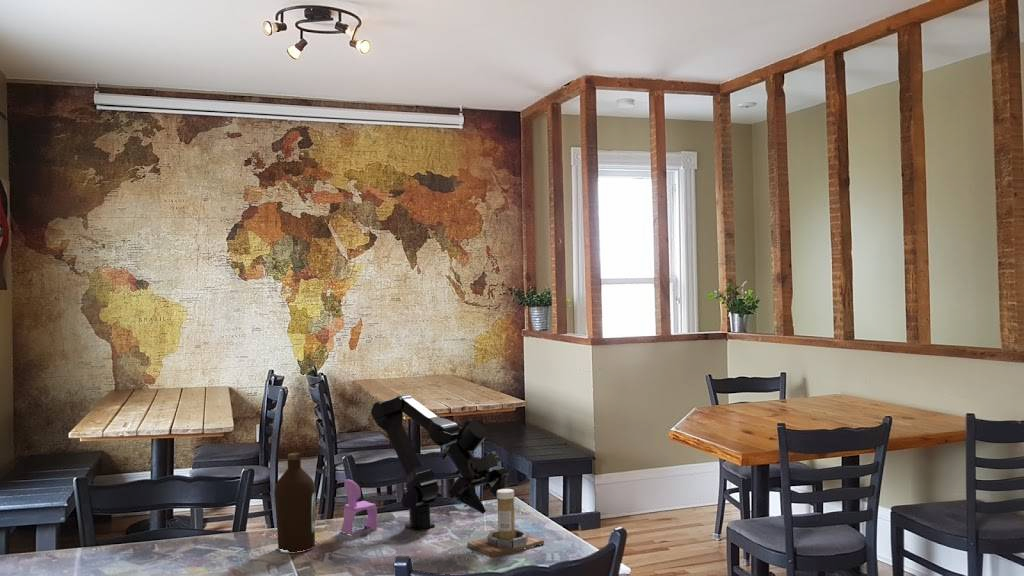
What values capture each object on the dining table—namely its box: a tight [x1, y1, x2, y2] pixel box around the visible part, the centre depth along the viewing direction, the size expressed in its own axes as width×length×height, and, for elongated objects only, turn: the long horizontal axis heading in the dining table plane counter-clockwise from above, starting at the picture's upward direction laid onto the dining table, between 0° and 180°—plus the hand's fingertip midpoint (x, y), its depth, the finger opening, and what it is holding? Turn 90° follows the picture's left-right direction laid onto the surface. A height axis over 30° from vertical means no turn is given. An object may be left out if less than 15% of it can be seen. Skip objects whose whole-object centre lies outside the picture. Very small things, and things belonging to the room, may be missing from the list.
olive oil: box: [273, 452, 317, 552], centre depth 225 cm, size 11×11×25 cm
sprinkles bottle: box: [497, 488, 516, 539], centre depth 221 cm, size 5×5×13 cm
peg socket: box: [486, 528, 529, 548], centre depth 221 cm, size 10×10×2 cm
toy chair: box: [340, 478, 378, 536], centre depth 239 cm, size 8×9×15 cm
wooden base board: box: [466, 534, 545, 558], centre depth 221 cm, size 12×16×1 cm
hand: (496, 508), depth 223 cm, fingers open, 9 cm apart
